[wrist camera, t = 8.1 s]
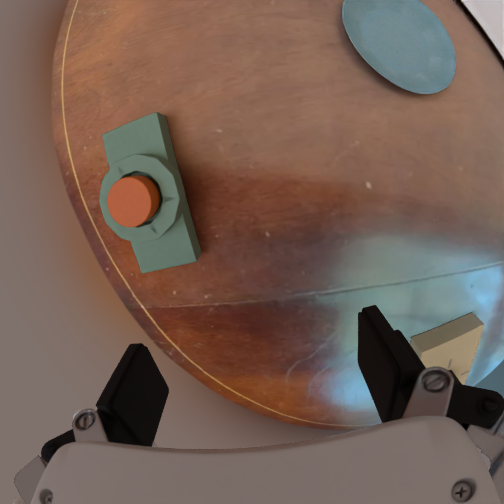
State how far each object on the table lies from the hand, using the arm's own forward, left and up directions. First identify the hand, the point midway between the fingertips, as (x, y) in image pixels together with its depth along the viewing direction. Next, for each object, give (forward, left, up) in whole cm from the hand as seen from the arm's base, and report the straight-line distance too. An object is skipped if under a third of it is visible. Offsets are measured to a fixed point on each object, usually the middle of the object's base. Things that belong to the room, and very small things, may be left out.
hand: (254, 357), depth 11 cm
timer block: (+7, +7, -13) cm, 16 cm away
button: (+7, +7, -9) cm, 14 cm away
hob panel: (-20, -20, -13) cm, 31 cm away
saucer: (+17, -17, -13) cm, 28 cm away
